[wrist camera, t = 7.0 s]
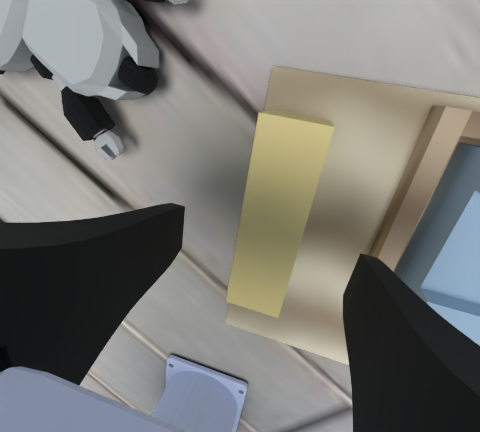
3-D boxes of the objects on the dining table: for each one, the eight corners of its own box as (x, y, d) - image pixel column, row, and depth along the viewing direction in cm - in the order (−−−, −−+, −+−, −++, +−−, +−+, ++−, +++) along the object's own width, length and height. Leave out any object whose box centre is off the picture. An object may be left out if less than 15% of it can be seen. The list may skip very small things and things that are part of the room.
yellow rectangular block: (286, 275, 18) (278, 318, 15) (243, 263, 19) (225, 301, 15) (330, 120, 14) (334, 126, 10) (273, 109, 14) (258, 112, 11)
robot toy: (226, -18, 14) (-27, -224, 13) (197, -58, 10) (-172, -362, 9) (138, 162, 20) (-45, 32, 19) (98, 181, 16) (-140, 17, 15)
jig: (431, 381, 19) (446, 417, 17) (228, 314, 22) (218, 338, 20) (621, 122, 12) (691, 127, 10) (275, 67, 14) (267, 61, 12)
